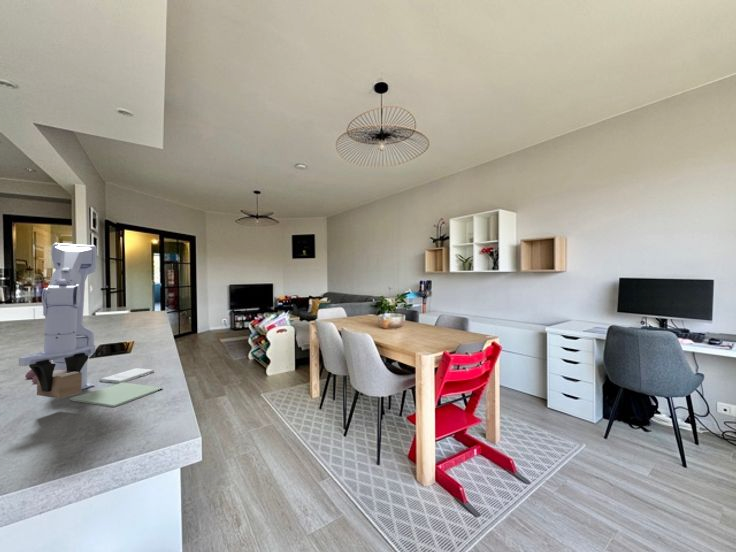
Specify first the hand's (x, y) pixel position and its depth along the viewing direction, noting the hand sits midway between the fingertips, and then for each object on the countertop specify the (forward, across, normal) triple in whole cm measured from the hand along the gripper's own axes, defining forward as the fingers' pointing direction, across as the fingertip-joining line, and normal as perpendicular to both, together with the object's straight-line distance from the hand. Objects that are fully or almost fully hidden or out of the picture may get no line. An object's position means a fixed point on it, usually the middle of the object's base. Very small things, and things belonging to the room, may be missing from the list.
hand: (59, 387), depth 77 cm
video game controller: (+6, +16, +36) cm, 40 cm away
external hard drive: (+7, +26, +12) cm, 29 cm away
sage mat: (+6, +13, -2) cm, 14 cm away
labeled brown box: (+2, 0, 0) cm, 2 cm away
